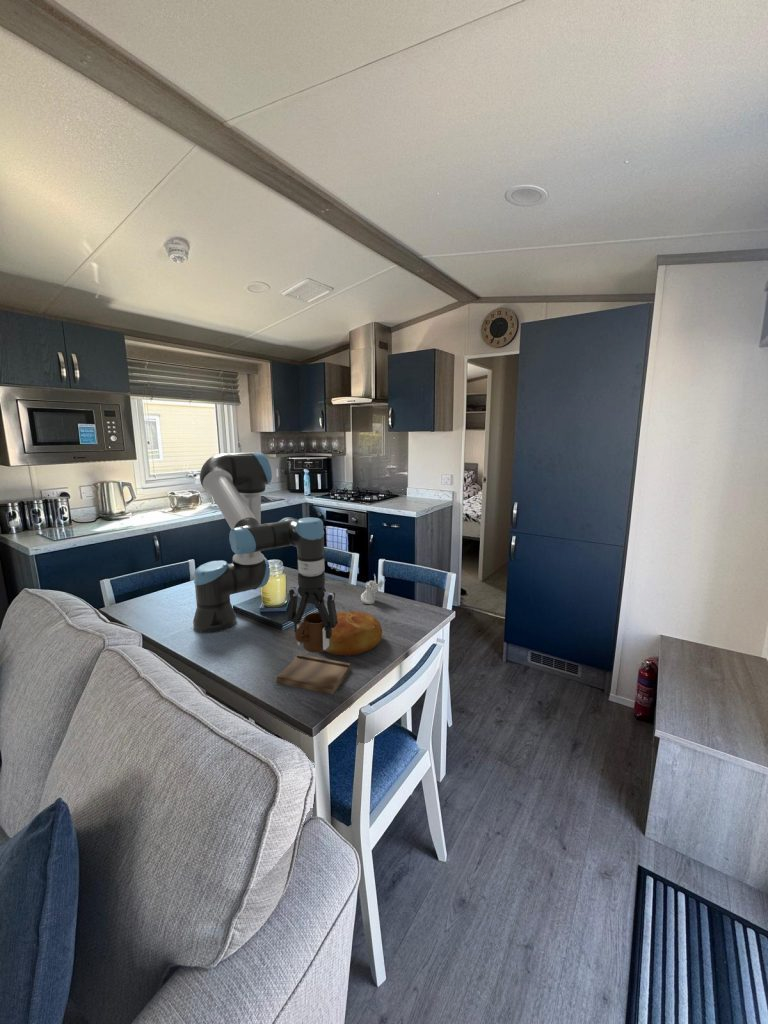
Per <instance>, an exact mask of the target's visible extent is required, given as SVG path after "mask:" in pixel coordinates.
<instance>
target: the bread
mask: <svg viewBox="0 0 768 1024" xmlns="http://www.w3.org/2000/svg"><path fill="white" fill-rule="evenodd" d="M336 614H337V620H338V624H337V625H336V626H335V627H334V628H332V636H331V637H330V639H329V647H328V648H327V649H326V650H324V651H325V652H327V653H329V654H332V655H336V656H356V655H360V654H363V653H366V652H368V651H371V650H372V649H374V648H375V647H376V646H377V645H379V643H380V642H381V641H382V637H383V629H382V626H381V624H380V622H379V620H378V619H377V618H376V617H375V616H374V615H371V614H370V613H366V612H364V611H363V612H362V611H356V610H355V611H354V610H352V611H338V612H336ZM324 651H323V652H324Z"/></svg>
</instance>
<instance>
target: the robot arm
mask: <svg viewBox="0 0 768 1024" xmlns="http://www.w3.org/2000/svg"><path fill="white" fill-rule="evenodd" d="M200 469H201V470H200V472H199V481H200V485H201V487H202V488H203V490H204V491H205V492H206V493H207V494H209V495H211V497H212V499H213V500H214V501H213V502H215V504H216V505H217V508H218V509H219V511H220V512H221V514H222V515H223V517H224V519H225V520H226V522H227V524H228V526H229V529H230V530H229V531H230V532H229V533H228V534H229V537H228V538H229V539H228V540H229V544H230V548H231V550H232V552H233V553H234V554H233V556H232V562H230V563H228V562H227V561H226V560H222V559H221V560H211V561H208V562H206V563H203V564H200V565H199V566H198V567H197V568H196V569H195V571H194V577H193V578H194V579H193V580H194V581H193V583H194V588H195V589H194V590H195V599H196V600H195V601H196V609H195V612H194V616H193V617H194V618H193V621H192V624H193V625H192V626H193V630H195V632H197V633H202V634H203V633H205V634H211V633H212V634H213V633H219V632H223V631H226V630H228V629H230V628H232V627H234V626H235V624H236V622H237V614H236V612H235V611H234V608H233V605H232V603H231V595H233V594H234V595H235V594H239V593H243V592H247V591H251V590H252V591H253V590H258V589H260V588H263V587H265V586H266V585H267V584H268V582H269V580H270V576H271V569H270V563H269V561H268V559H267V558H266V557H265V555H264V554H263V553H261V552H262V551H268V550H272V549H273V550H274V549H280V548H283V547H284V548H285V547H290V546H291V547H292V546H293V547H295V549H296V551H297V553H296V554H297V555H296V556H297V573H298V574H297V581H298V583H297V584H298V587H295V586H294V587H292V588H291V589H289V591H288V594H289V607H288V614H287V621H289V622H293V624H294V625H293V626H294V634H295V633H296V630H297V629H298V628H299V627H300V626H302V625H303V623H304V620H302V619H303V616H304V613H305V611H306V608H307V605H308V604H309V605H310V604H311V605H314V606H315V608H316V609H317V611H318V613H319V614H320V616H321V619H322V621H323V624H324V626H325V627H324V628H323V650H326V649H327V648H328V647H329V639H330V637H331V636H332V628H334V627H335V626H336V625H337V624H338V620H337V614H336V613H337V607H336V602H335V597H336V593H335V592H334V591H333V592H328V591H327V589H326V587H325V585H326V579H325V578H326V576H325V575H326V574H325V530H324V521H323V520H322V519H321V518H318V517H303V518H299V519H298V518H295V517H284V518H282V519H280V520H279V521H276V522H275V521H274V522H268V523H262V522H261V520H262V517H261V516H262V515H261V514H262V513H261V512H262V494H263V493H264V492H266V485H269V484H271V483H272V479H273V472H272V467H271V463H270V461H269V459H268V458H267V456H266V455H265V454H264V453H263V452H256V451H255V452H253V451H248V452H247V451H246V452H230V453H229V452H228V453H227V452H224V453H217V454H214V455H212V456H211V457H209V458H208V459H207V460H206V461H205V462H204V463H203V465H202V467H201V468H200ZM299 596H300V598H301V599H300V602H299V605H298V597H299ZM324 597H325V600H324ZM325 601H326V605H327V606H326V605H325ZM302 636H303V631H302V632H301V637H302ZM296 641H297V640H296ZM302 644H303V642H298V641H297V646H301V645H302Z"/></svg>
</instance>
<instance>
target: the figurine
mask: <svg viewBox="0 0 768 1024" xmlns="http://www.w3.org/2000/svg"><path fill="white" fill-rule="evenodd" d="M373 576H374V580H369V581H366V582H365V588H366V589H365V590H364V592H362V593H361V595H360V600H361V601H362V602H363V604H365V605H373V604H374V603H376V602H375V597H376V593H377V592H379V591H378V590H379V589H380V590H381V588H382V587H383V584H385V581H386V580H384V581H383V579H381V580H380V581H379V582H378V583H377V578H376V574H375V573H374V574H373Z"/></svg>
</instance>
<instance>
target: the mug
mask: <svg viewBox="0 0 768 1024" xmlns="http://www.w3.org/2000/svg"><path fill="white" fill-rule="evenodd" d="M303 621H304V623H303V625H302V626H300V627H299V628H298V629H297V630H296V633H295V632H294V635H295V637H294V639H295V640H296V641H298V642H303V643H302V644H303V648H304V650H305V651H307V652H308V653H309V652H310V653H312V654H313V653H321V652H324V650H323V628H324V627H325V626H324V624H323V621H322V619H321V616H320V614H319V612H312V613H308V614H306V615H305V616H304V618H303ZM302 631H303V636H302V637H301V632H302Z"/></svg>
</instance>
